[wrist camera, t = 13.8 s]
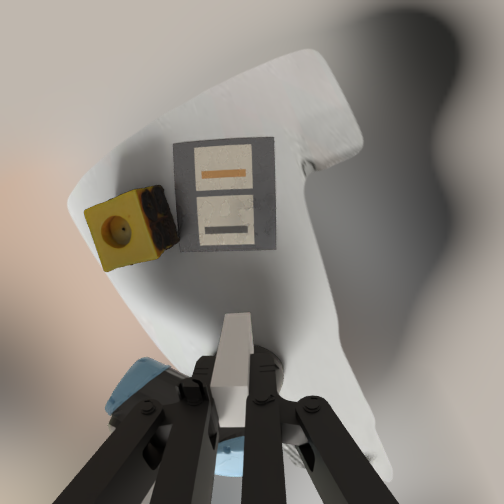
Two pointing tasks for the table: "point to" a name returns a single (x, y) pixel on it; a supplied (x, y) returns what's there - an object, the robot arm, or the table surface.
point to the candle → (132, 227)
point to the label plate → (225, 194)
